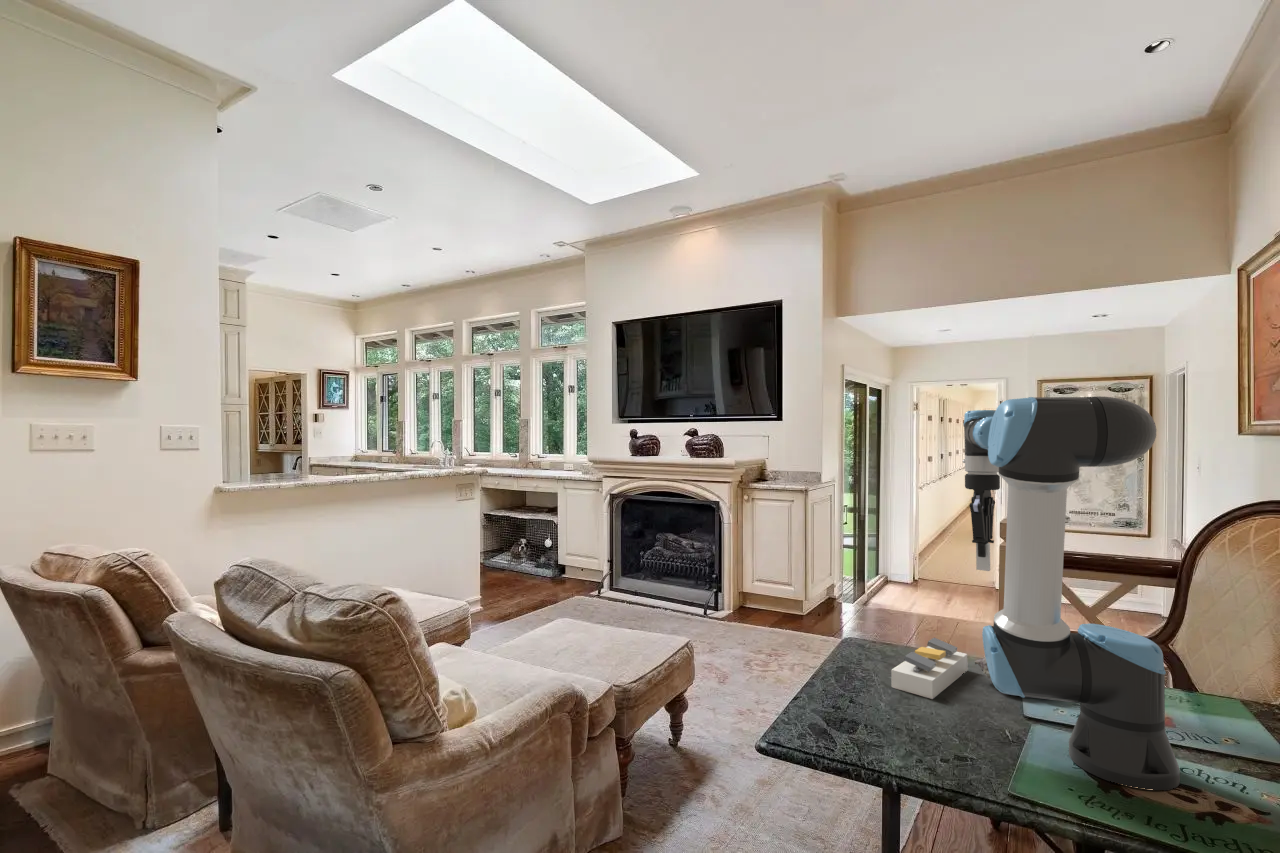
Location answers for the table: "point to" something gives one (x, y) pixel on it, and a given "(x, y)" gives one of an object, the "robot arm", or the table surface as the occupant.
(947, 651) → the block
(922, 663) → the block
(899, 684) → the white rocker switch box
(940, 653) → the amber rocker
